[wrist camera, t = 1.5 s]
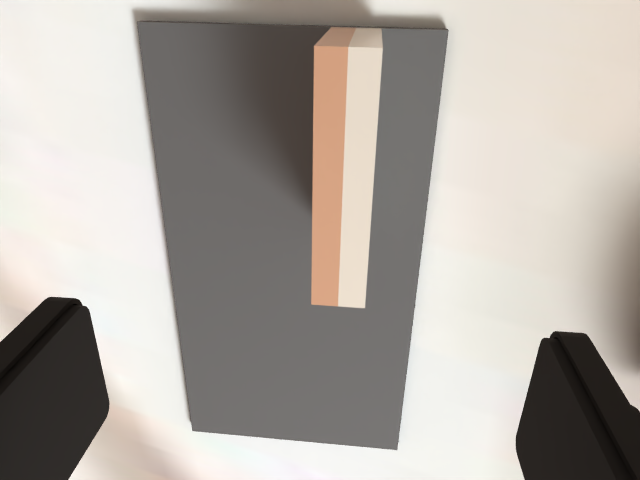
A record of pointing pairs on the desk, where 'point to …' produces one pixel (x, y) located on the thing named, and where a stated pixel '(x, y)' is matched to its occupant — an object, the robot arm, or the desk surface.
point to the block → (344, 162)
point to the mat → (285, 229)
